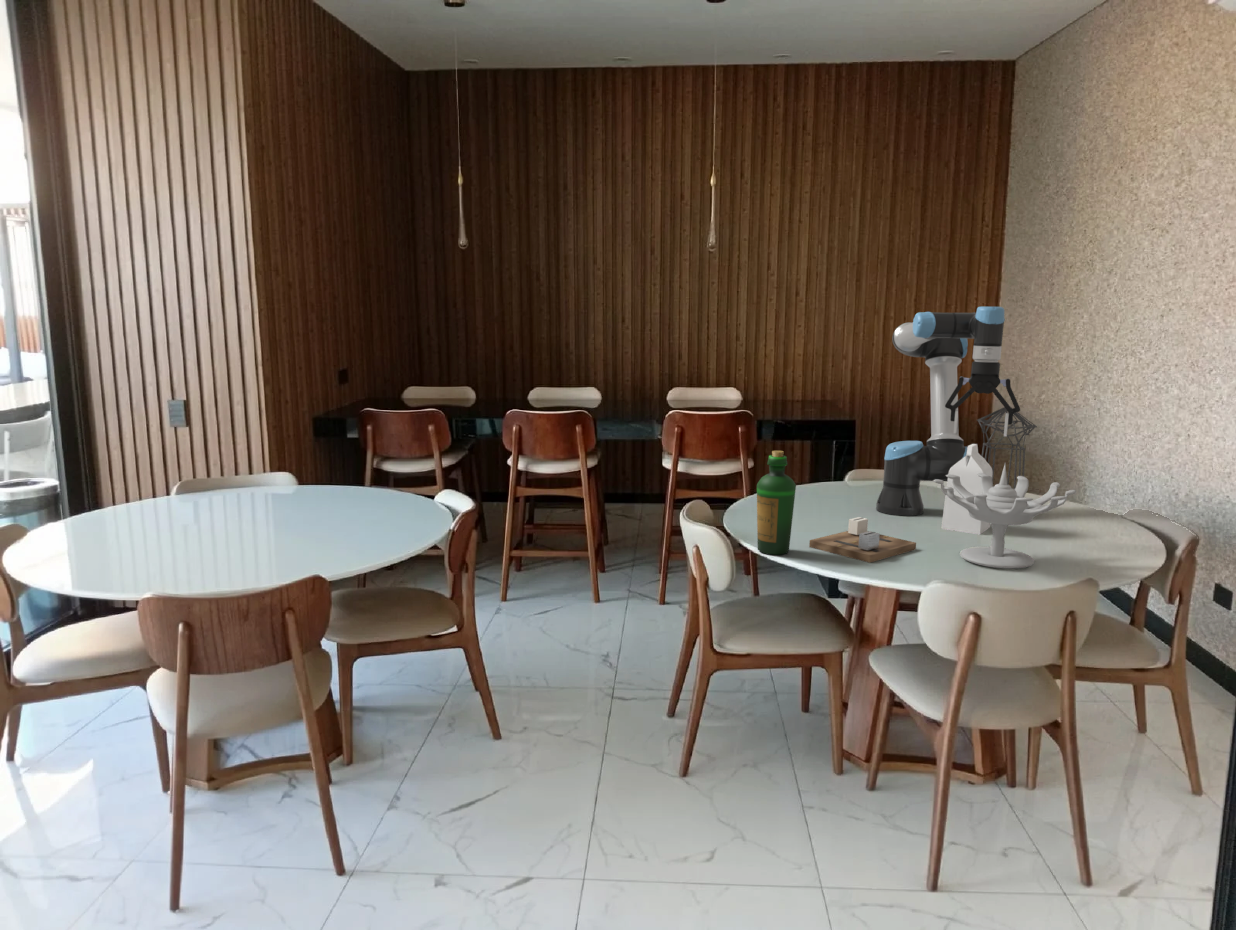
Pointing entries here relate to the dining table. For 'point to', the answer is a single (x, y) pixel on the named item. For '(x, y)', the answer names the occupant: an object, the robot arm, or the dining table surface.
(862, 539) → the fader
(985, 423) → the geometric lantern
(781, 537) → the bottle
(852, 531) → the fader
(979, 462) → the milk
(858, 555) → the wooden board
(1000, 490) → the candelabra
